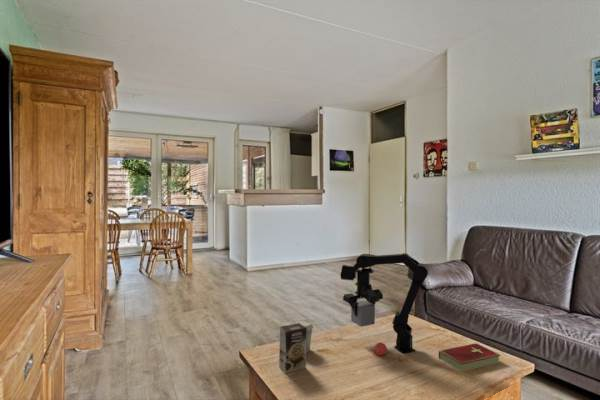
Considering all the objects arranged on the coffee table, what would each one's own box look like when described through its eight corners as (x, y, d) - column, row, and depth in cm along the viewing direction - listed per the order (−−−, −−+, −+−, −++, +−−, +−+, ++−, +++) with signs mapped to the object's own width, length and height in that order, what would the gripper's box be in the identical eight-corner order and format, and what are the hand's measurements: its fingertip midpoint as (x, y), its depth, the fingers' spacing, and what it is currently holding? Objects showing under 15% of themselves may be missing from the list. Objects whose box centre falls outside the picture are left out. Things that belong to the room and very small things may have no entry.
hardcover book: (438, 359, 141) (438, 349, 141) (475, 351, 148) (475, 342, 148) (461, 373, 130) (461, 362, 130) (500, 364, 137) (500, 354, 137)
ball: (381, 351, 146) (381, 339, 146) (389, 356, 142) (389, 344, 142) (372, 353, 144) (372, 341, 144) (379, 358, 140) (379, 346, 140)
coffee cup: (310, 355, 142) (311, 327, 142) (291, 353, 144) (291, 325, 143) (314, 346, 150) (314, 320, 150) (295, 344, 152) (295, 318, 152)
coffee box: (286, 374, 127) (286, 332, 127) (278, 366, 132) (279, 326, 132) (306, 368, 131) (307, 327, 131) (298, 361, 137) (299, 322, 137)
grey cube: (364, 318, 160) (364, 300, 160) (374, 324, 153) (374, 304, 153) (351, 320, 157) (351, 302, 157) (360, 326, 150) (360, 307, 150)
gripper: (356, 288, 144) (356, 324, 144) (390, 283, 151) (390, 317, 152) (342, 282, 154) (342, 315, 154) (375, 278, 161) (375, 310, 162)
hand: (363, 314), depth 155 cm, fingers closed on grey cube, 8 cm apart
